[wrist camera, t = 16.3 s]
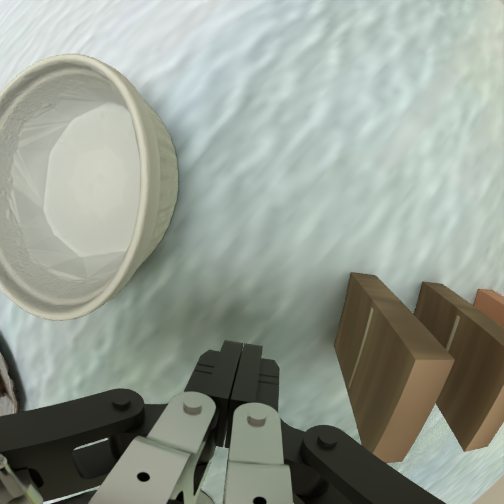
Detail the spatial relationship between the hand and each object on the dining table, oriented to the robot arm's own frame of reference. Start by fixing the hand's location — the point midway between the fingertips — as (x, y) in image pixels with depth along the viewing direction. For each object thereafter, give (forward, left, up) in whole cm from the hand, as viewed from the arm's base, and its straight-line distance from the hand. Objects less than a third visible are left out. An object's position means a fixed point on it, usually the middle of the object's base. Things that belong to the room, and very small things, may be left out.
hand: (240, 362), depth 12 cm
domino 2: (+11, 0, -7) cm, 13 cm away
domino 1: (+6, 0, -7) cm, 10 cm away
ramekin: (-11, +6, -7) cm, 14 cm away
